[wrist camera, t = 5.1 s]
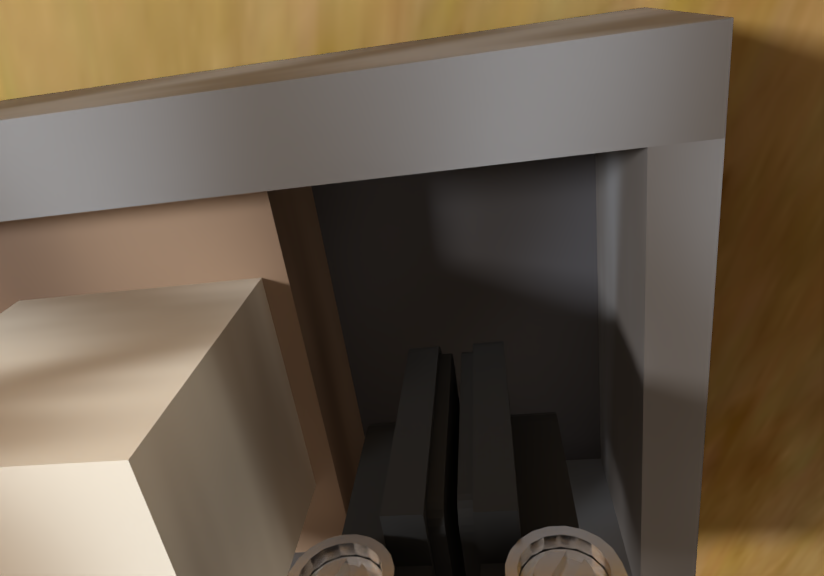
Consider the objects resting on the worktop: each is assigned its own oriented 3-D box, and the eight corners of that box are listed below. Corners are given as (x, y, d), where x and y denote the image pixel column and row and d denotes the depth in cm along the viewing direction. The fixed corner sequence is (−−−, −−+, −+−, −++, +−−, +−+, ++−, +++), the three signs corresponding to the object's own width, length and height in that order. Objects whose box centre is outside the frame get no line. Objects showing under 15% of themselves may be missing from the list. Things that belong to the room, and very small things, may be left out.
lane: (644, 7, 12) (787, 23, 6) (637, 492, 17) (714, 730, 11) (-453, 166, 15) (-950, 262, 10) (-191, 527, 20) (-429, 721, 15)
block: (261, 277, 12) (127, 460, 7) (315, 485, 14) (239, 726, 9) (18, 300, 12) (-244, 480, 8) (105, 494, 14) (-62, 724, 10)
